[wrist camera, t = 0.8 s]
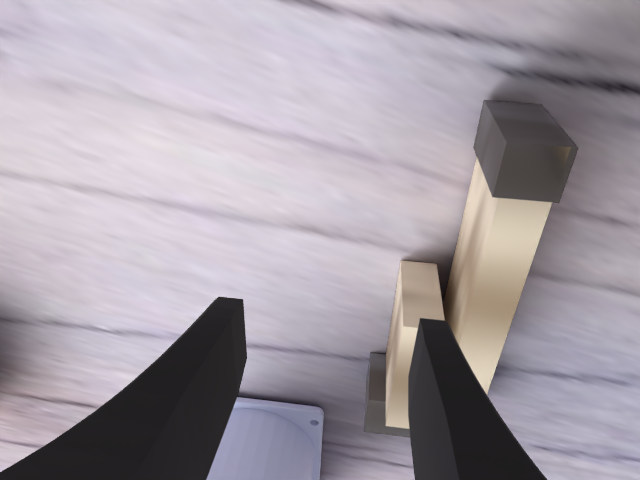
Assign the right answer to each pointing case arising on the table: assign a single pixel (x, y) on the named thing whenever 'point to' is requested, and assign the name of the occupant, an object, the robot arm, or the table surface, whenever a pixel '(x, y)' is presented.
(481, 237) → the bar
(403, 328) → the tong pivot
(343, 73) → the table surface
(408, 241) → the table surface
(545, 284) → the table surface
